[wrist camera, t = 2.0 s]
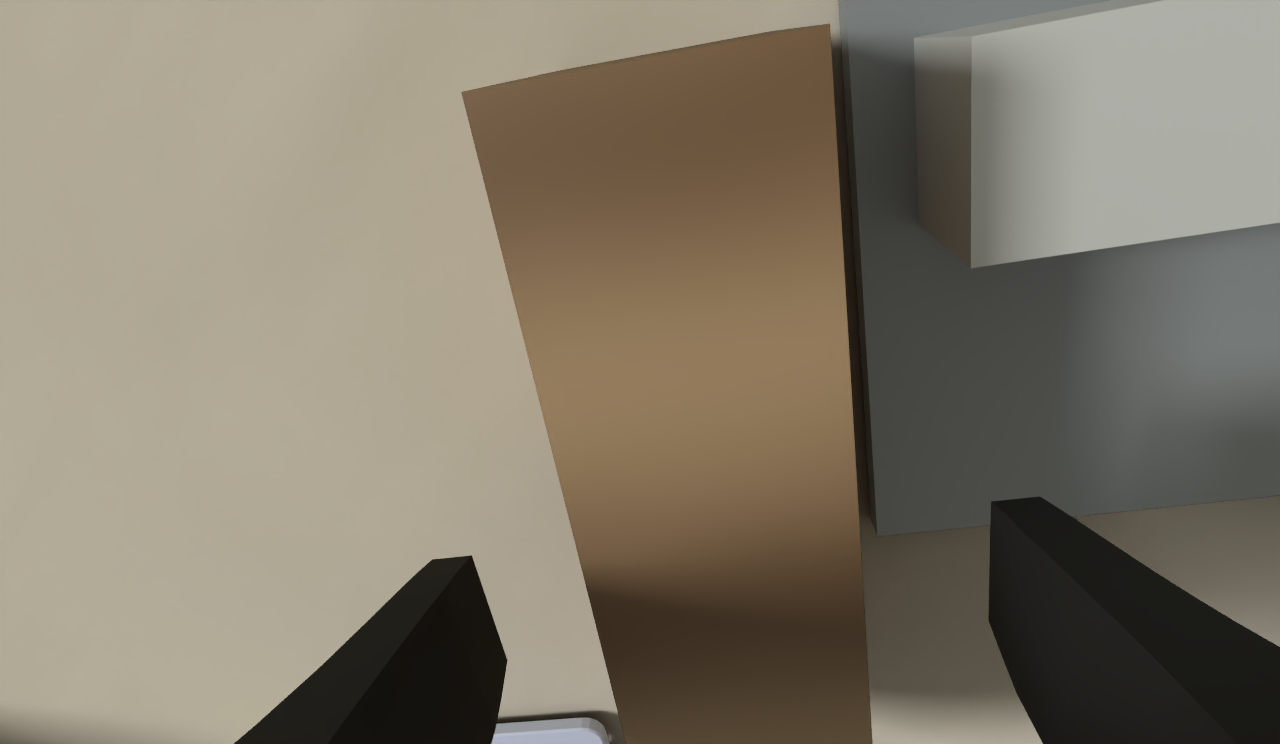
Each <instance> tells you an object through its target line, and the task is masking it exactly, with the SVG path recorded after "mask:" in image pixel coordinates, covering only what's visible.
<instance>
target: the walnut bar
mask: <svg viewBox="0 0 1280 744" xmlns="http://www.w3.org/2000/svg"><path fill="white" fill-rule="evenodd" d="M462 96H463V100H464V104H465V108H466V112H467V116H468V120H469V124H470V128H471V132H472V136H473V140H474V144H475V148H476V152H477V156H478V160H479V164H480V167H481V171H482V175H483V179H484V183H485V187H486V191H487V195H488V199H489V203H490V207H491V211H492V215H493V219H494V223H495V227H496V231H497V235H498V239H499V243H500V247H501V251H502V255H503V259H504V263H505V267H506V271H507V274H508V278H509V282H510V286H511V290H512V294H513V298H514V302H515V306H516V310H517V314H518V318H519V322H520V326H521V330H522V334H523V338H524V342H525V346H526V350H527V354H528V358H529V362H530V366H531V370H532V374H533V378H534V382H535V385H536V389H537V393H538V397H539V401H540V405H541V409H542V413H543V417H544V421H545V425H546V429H547V433H548V437H549V441H550V445H551V449H552V453H553V457H554V461H555V465H556V469H557V473H558V477H559V481H560V485H561V489H562V492H563V496H564V500H565V504H566V508H567V512H568V516H569V520H570V524H571V528H572V532H573V536H574V540H575V544H576V548H577V552H578V556H579V560H580V564H581V568H582V572H583V576H584V580H585V584H586V588H587V592H588V596H589V599H590V603H591V607H592V611H593V615H594V619H595V623H596V627H597V631H598V635H599V639H600V643H601V647H602V651H603V655H604V659H605V663H606V667H607V671H608V675H609V679H610V683H611V687H612V691H613V695H614V699H615V703H616V706H617V710H618V714H619V718H620V722H621V726H622V730H623V734H624V738H625V742H626V744H872V729H871V712H870V695H869V678H868V661H867V644H866V627H865V610H864V593H863V576H862V559H861V542H860V525H859V509H858V492H857V475H856V458H855V441H854V424H853V407H852V390H851V373H850V356H849V339H848V322H847V305H846V289H845V272H844V255H843V238H842V221H841V204H840V187H839V170H838V153H837V136H836V119H835V102H834V85H833V69H832V52H831V35H830V24H824V25H817V26H809V27H801V28H794V29H786V30H778V31H770V32H765V33H759V34H754V35H749V36H743V37H738V38H733V39H727V40H722V41H716V42H711V43H706V44H700V45H695V46H690V47H684V48H679V49H673V50H668V51H663V52H657V53H652V54H647V55H641V56H636V57H630V58H625V59H620V60H614V61H609V62H604V63H598V64H593V65H587V66H582V67H577V68H571V69H566V70H561V71H556V72H551V73H547V74H542V75H537V76H533V77H528V78H524V79H519V80H515V81H510V82H505V83H501V84H496V85H492V86H487V87H483V88H478V89H473V90H469V91H464V92H462Z"/></svg>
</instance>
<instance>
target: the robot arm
mask: <svg viewBox="0 0 1280 744" xmlns="http://www.w3.org/2000/svg"><path fill="white" fill-rule="evenodd" d="M989 623H990V625H991V628H992V631H993V633H994V636H995V639H996V641H997V644H998V647H999V649H1000V652H1001V655H1002V657H1003V660H1004V662H1005V665H1006V667H1007V670H1008V672H1009V675H1010V677H1011V680H1012V682H1013V685H1014V687H1015V690H1016V692H1017V695H1018V697H1019V698H1020V700H1021V702H1022V704H1023V706H1024V708H1025V710H1026V712H1027V714H1028V716H1029V718H1030V720H1031V722H1032V723H1033V725H1034V727H1035V729H1036V731H1037V733H1038V735H1039V737H1040V739H1041V741H1042V742H1043V744H1280V647H1278V646H1277V645H1275V644H1273V643H1272V642H1270V641H1268V640H1266V639H1265V638H1263V637H1261V636H1259V635H1258V634H1256V633H1254V632H1252V631H1251V630H1249V629H1247V628H1245V627H1244V626H1242V625H1240V624H1238V623H1237V622H1235V621H1233V620H1232V619H1230V618H1228V617H1227V616H1225V615H1223V614H1222V613H1220V612H1218V611H1217V610H1215V609H1213V608H1212V607H1210V606H1208V605H1207V604H1205V603H1203V602H1202V601H1200V600H1199V599H1197V598H1195V597H1194V596H1192V595H1191V594H1189V593H1187V592H1186V591H1184V590H1183V589H1181V588H1179V587H1178V586H1176V585H1175V584H1173V583H1171V582H1170V581H1168V580H1167V579H1165V578H1164V577H1162V576H1160V575H1159V574H1157V573H1156V572H1154V571H1153V570H1151V569H1150V568H1148V567H1147V566H1145V565H1143V564H1142V563H1140V562H1139V561H1137V560H1136V559H1134V558H1133V557H1131V556H1130V555H1128V554H1127V553H1125V552H1124V551H1122V550H1121V549H1119V548H1118V547H1116V546H1115V545H1113V544H1112V543H1110V542H1109V541H1107V540H1106V539H1104V538H1103V537H1101V536H1100V535H1098V534H1097V533H1095V532H1094V531H1092V530H1091V529H1089V528H1088V527H1086V526H1085V525H1083V524H1082V523H1080V522H1079V521H1077V520H1076V519H1074V518H1073V517H1071V516H1070V515H1068V514H1067V513H1065V512H1064V511H1062V510H1061V509H1059V508H1058V507H1056V506H1054V505H1053V504H1051V503H1050V502H1048V501H1047V500H1045V499H1043V498H1042V497H1040V496H1039V497H1029V498H1020V499H1010V500H1000V501H991V522H990V575H989ZM506 665H507V658H506V655H505V652H504V649H503V646H502V643H501V641H500V638H499V635H498V632H497V629H496V626H495V623H494V620H493V617H492V614H491V611H490V608H489V605H488V602H487V599H486V596H485V593H484V590H483V588H482V585H481V582H480V579H479V576H478V573H477V570H476V567H475V564H474V561H473V558H472V556H463V557H454V558H444V559H434V560H431V561H430V562H429V563H428V564H427V565H426V566H425V567H423V568H422V569H421V570H420V571H419V572H418V573H417V574H416V575H415V576H414V577H413V578H412V579H410V580H409V581H408V582H407V583H406V584H405V585H404V586H403V587H402V588H401V589H400V590H399V591H398V592H397V593H396V594H395V595H394V596H393V597H392V598H391V599H390V600H389V601H388V602H387V603H386V604H385V605H384V606H383V607H382V608H381V609H380V610H379V611H378V612H377V613H376V614H375V615H374V616H373V617H372V618H370V619H369V620H368V621H367V622H366V623H365V624H364V625H363V626H362V627H361V628H360V629H359V630H358V631H357V632H356V633H355V634H354V635H353V636H352V637H351V638H350V639H349V640H348V641H347V642H346V643H345V644H344V645H343V646H342V647H341V648H340V649H338V650H337V651H336V652H335V653H334V654H333V655H332V656H331V657H330V658H329V659H328V660H327V661H326V662H325V663H324V664H323V665H322V666H321V667H320V668H319V669H318V670H316V671H315V672H314V673H313V674H312V675H311V676H310V677H309V678H308V679H306V680H305V681H304V682H303V683H302V684H301V685H300V686H299V687H298V688H296V689H295V690H294V691H293V692H292V693H291V694H290V695H289V696H288V697H286V698H285V699H284V700H283V701H282V702H281V703H280V704H279V705H278V706H276V707H275V708H274V709H273V710H272V711H271V712H270V713H269V714H268V715H266V716H265V717H264V718H263V719H262V720H261V721H260V722H259V723H258V724H256V725H255V726H254V727H253V728H252V729H251V730H249V731H248V732H247V733H246V734H245V735H244V736H242V737H241V738H240V739H239V740H238V741H236V742H235V743H234V744H609V740H608V736H607V733H606V730H605V728H604V726H603V725H602V724H601V723H600V722H598V721H597V720H595V719H592V718H585V717H582V718H568V719H555V720H541V721H528V722H514V723H500V724H497V719H498V713H499V708H500V702H501V697H502V691H503V684H504V678H505V671H506Z"/></svg>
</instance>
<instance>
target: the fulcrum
mask: <svg viewBox="0 0 1280 744" xmlns="http://www.w3.org/2000/svg"><path fill="white" fill-rule="evenodd" d="M839 16H840V32H841V47H842V63H843V79H844V95H845V111H846V127H847V143H848V159H849V175H850V191H851V206H852V222H853V238H854V254H855V270H856V286H857V302H858V318H859V334H860V350H861V366H862V381H863V397H864V413H865V429H866V445H867V461H868V477H869V493H870V509H871V520H872V523H873V526H874V529H875V531H876V534H877V537H879V536H889V535H899V534H909V533H919V532H928V531H938V530H948V529H958V528H968V527H977V526H987V525H990V522H991V501H1000V500H1010V499H1020V498H1029V497H1039V496H1040V497H1042V498H1043V499H1045V500H1047V501H1048V502H1050V503H1051V504H1053V505H1054V506H1056V507H1058V508H1059V509H1061V510H1062V511H1064V512H1065V513H1067V514H1068V515H1070V516H1071V517H1075V516H1085V515H1095V514H1105V513H1114V512H1124V511H1134V510H1144V509H1154V508H1163V507H1173V506H1183V505H1193V504H1203V503H1212V502H1222V501H1232V500H1242V499H1252V498H1261V497H1271V496H1280V0H839Z"/></svg>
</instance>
